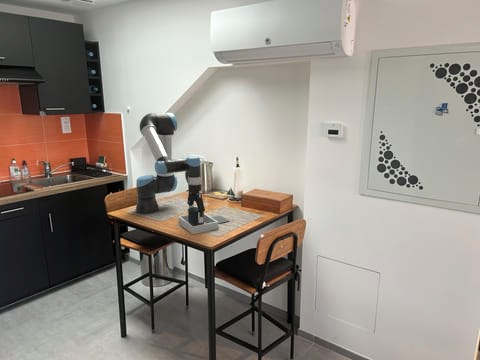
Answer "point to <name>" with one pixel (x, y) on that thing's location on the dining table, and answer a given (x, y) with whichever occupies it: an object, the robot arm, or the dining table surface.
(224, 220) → the mat
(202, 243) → the dining table surface
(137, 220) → the dining table surface
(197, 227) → the bin
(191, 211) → the box
